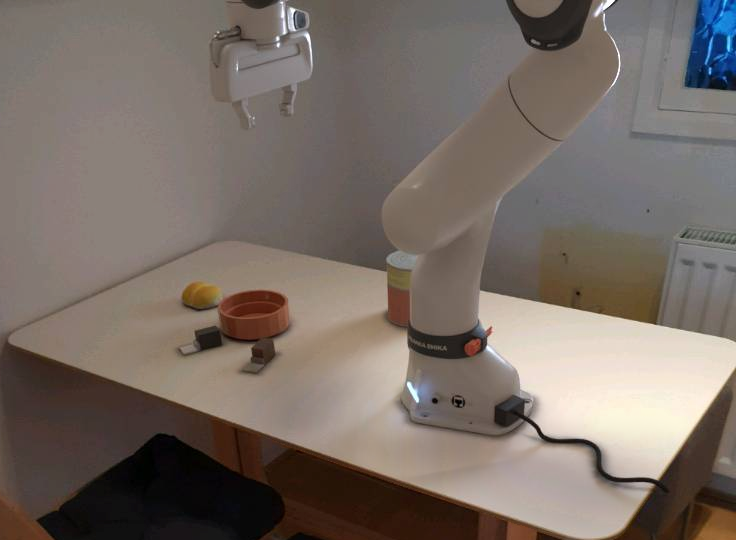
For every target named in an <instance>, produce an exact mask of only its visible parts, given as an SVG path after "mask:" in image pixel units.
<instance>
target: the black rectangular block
mask: <svg viewBox="0 0 736 540" xmlns="http://www.w3.org/2000/svg"><path fill="white" fill-rule="evenodd" d="M193 332H194V337H195V338H194V339H192V344H187V345H184V346H180V347H179V351H180V352H181V353H182V355H183V356H187V355H191V354H193V353H198V352H201V351H204V350H207V349H211V348H214V347H218V346H223V341H222V333H221V329H220V328H219V327H218V326H217V325H212V326H208V327H204V328H200V329H195V330H193Z"/></svg>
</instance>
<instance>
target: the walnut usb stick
mask: <svg viewBox="0 0 736 540" xmlns="http://www.w3.org/2000/svg"><path fill="white" fill-rule="evenodd" d="M250 351H251V357H250V362H249V363H248V364H247V365H246V366H244V367H243V368H242V372H246V373H251V374H258V373H259V372H260V371H261V370H262V369H263V368H264V367H265V365H266V364H268V362H269V361H270V360H271V359H272V358H274V356H276V347H275V340H274V338H269V337H267V338H261V339H258V341H257V342H256V343H254V344H253V345H252V346H251V347H250Z"/></svg>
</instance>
